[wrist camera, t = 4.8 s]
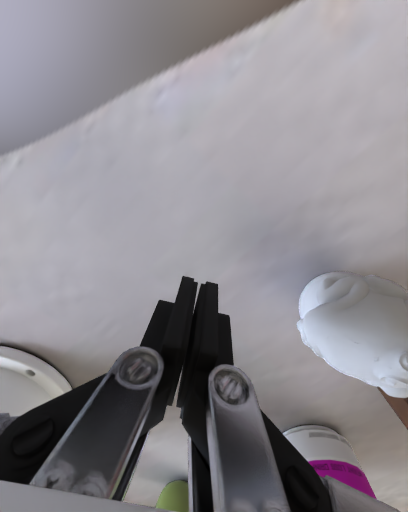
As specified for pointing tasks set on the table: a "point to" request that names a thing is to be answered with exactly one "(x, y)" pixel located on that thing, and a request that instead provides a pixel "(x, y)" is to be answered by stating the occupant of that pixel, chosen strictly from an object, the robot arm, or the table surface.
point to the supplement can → (329, 455)
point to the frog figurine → (358, 327)
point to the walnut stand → (398, 406)
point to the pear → (174, 497)
